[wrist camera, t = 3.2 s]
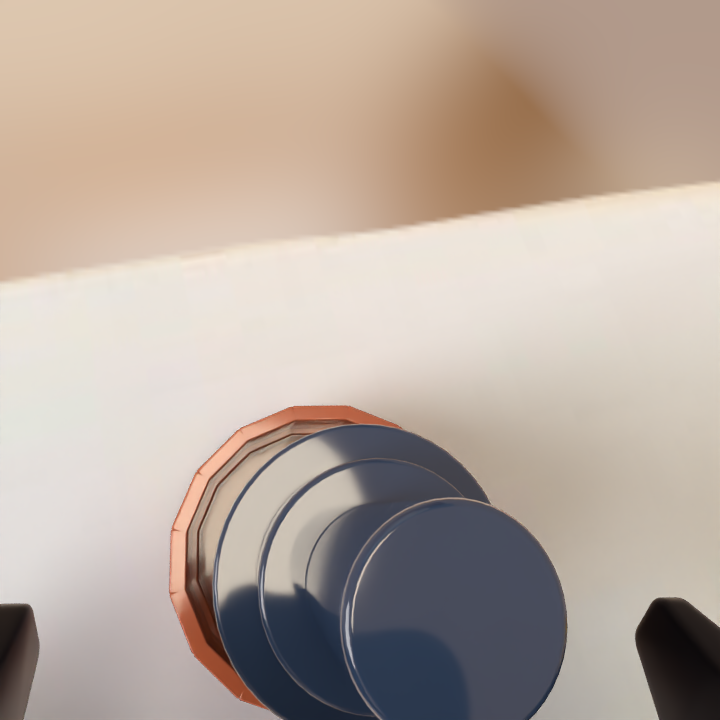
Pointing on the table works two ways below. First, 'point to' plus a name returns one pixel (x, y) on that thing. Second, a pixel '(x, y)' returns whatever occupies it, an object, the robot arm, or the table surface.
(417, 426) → the table surface
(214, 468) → the bowl
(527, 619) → the bottle
